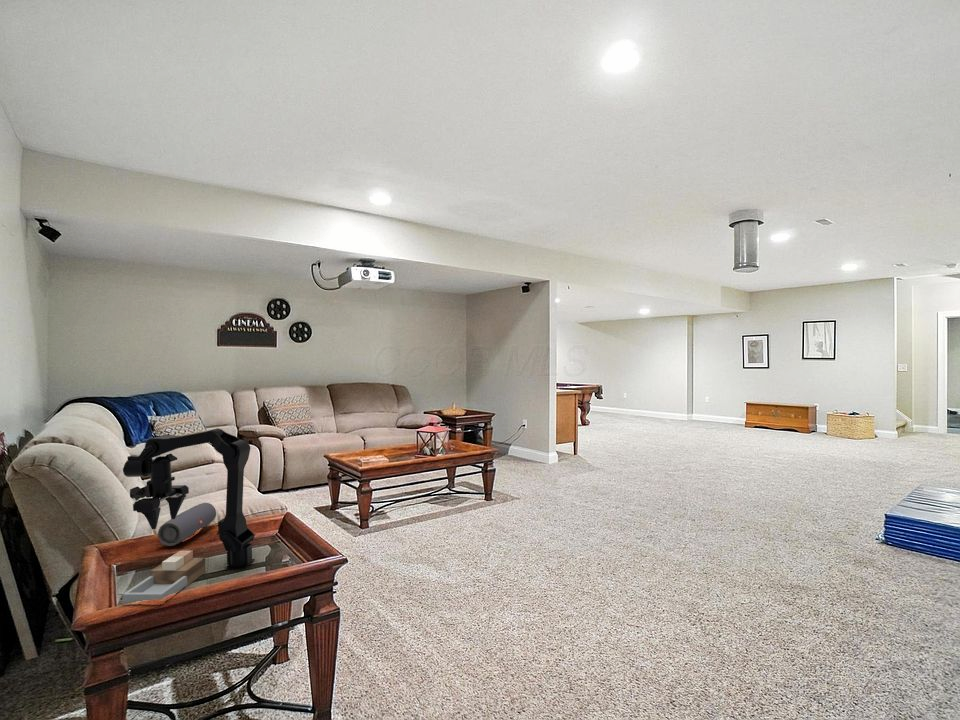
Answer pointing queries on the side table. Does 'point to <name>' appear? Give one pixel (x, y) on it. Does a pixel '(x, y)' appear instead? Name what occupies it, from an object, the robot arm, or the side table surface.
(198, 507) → the bluetooth speaker
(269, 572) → the side table surface
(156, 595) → the tray
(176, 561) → the tile front
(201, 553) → the side table surface
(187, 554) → the tile rear
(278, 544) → the side table surface
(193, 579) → the stepped beige slab
